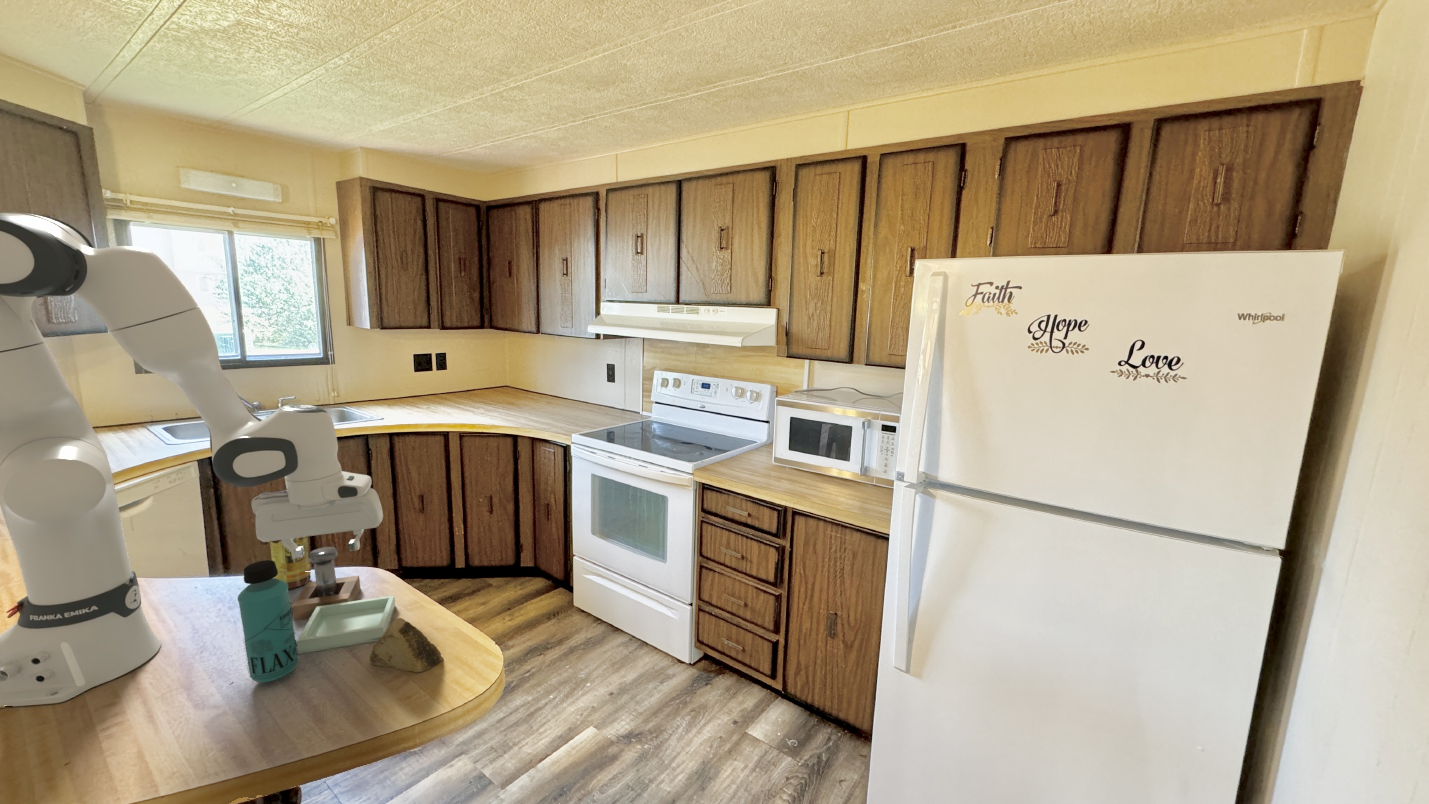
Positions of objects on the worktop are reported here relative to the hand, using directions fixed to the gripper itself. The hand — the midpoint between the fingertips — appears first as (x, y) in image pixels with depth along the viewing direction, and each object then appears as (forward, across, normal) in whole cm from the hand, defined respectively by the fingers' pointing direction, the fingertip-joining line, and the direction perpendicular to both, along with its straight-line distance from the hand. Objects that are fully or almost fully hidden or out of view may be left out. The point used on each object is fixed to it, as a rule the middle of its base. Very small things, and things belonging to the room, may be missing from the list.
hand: (327, 553), depth 108 cm
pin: (+11, -1, 0) cm, 11 cm away
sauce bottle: (+11, -10, +11) cm, 18 cm away
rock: (+11, +16, -24) cm, 31 cm away
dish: (+11, +5, -11) cm, 16 cm away
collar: (+11, -1, 0) cm, 11 cm away
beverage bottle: (+11, -3, -22) cm, 25 cm away
